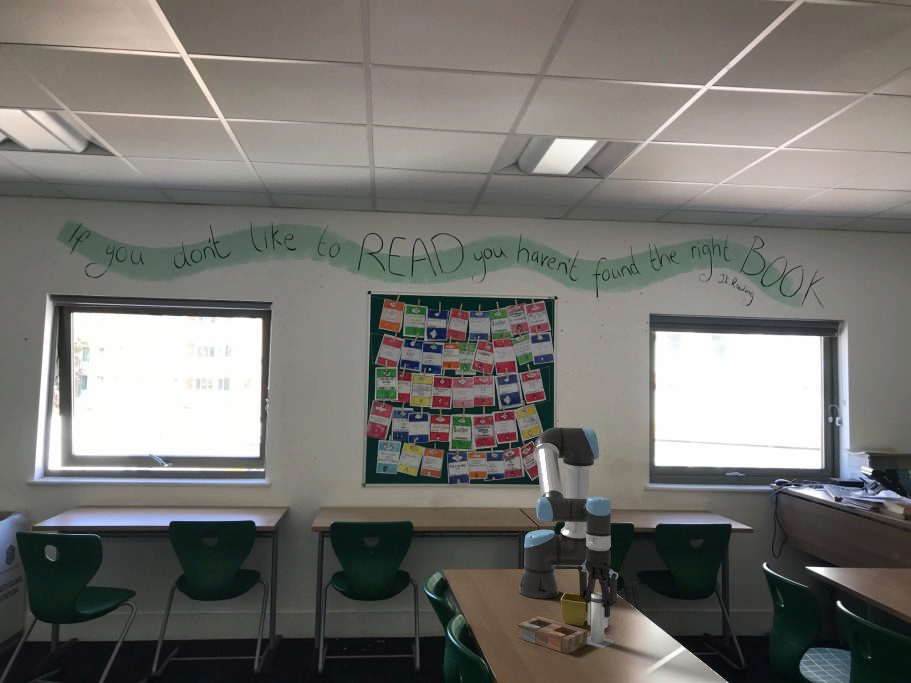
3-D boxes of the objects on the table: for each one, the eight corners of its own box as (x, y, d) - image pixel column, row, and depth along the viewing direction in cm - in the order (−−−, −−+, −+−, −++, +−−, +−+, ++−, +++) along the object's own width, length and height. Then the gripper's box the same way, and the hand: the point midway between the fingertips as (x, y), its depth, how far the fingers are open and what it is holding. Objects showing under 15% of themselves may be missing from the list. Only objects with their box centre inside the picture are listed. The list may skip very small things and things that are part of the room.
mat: (592, 637, 206) (592, 634, 206) (615, 644, 201) (615, 641, 201) (579, 644, 200) (579, 640, 200) (602, 651, 195) (602, 648, 195)
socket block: (537, 632, 210) (538, 615, 210) (587, 647, 198) (587, 629, 198) (517, 641, 201) (517, 623, 202) (567, 657, 189) (567, 638, 190)
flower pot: (590, 622, 220) (590, 595, 221) (586, 631, 212) (587, 602, 212) (564, 619, 223) (564, 592, 223) (559, 627, 214) (560, 599, 215)
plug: (595, 637, 203) (595, 591, 205) (606, 641, 201) (607, 594, 202) (588, 641, 200) (588, 594, 202) (600, 644, 198) (600, 597, 199)
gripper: (568, 545, 206) (567, 621, 204) (617, 555, 194) (616, 636, 192) (580, 541, 211) (579, 616, 209) (629, 551, 200) (628, 629, 198)
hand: (597, 625), depth 201 cm, fingers closed on plug, 4 cm apart
